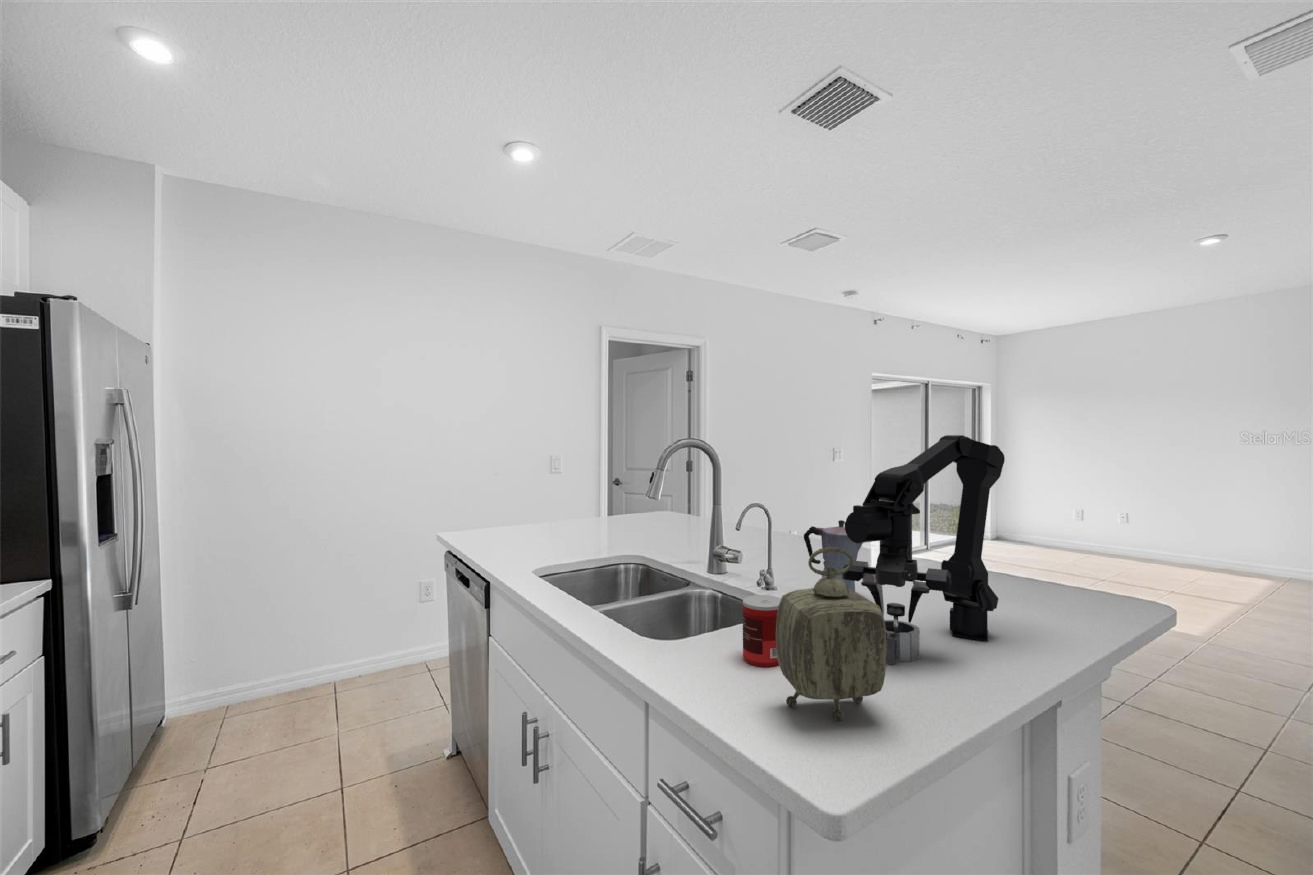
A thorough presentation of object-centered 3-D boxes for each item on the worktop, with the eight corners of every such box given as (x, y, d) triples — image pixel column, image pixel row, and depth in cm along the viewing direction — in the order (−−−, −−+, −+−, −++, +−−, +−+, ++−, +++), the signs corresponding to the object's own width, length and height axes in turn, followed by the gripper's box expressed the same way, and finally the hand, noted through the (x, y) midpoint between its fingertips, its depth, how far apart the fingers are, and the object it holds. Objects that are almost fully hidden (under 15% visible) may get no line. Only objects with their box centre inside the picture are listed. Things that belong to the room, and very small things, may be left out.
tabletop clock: (863, 697, 93) (863, 540, 92) (893, 726, 84) (893, 552, 83) (775, 702, 91) (775, 543, 91) (796, 732, 82) (796, 556, 82)
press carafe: (921, 649, 112) (921, 624, 112) (915, 669, 103) (915, 641, 103) (877, 642, 116) (876, 617, 116) (867, 661, 107) (867, 633, 107)
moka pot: (871, 607, 140) (871, 523, 139) (804, 603, 143) (804, 522, 142) (865, 595, 149) (864, 518, 149) (803, 592, 152) (802, 516, 152)
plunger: (911, 647, 112) (910, 604, 112) (907, 656, 108) (907, 610, 107) (884, 643, 114) (884, 600, 114) (880, 651, 110) (880, 607, 110)
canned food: (787, 654, 111) (786, 596, 111) (781, 670, 103) (781, 608, 103) (747, 649, 113) (746, 593, 113) (739, 664, 106) (738, 604, 106)
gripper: (835, 541, 108) (836, 624, 108) (947, 551, 99) (947, 642, 99) (848, 531, 118) (848, 608, 118) (951, 540, 109) (951, 623, 109)
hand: (895, 620), depth 111 cm, fingers open, 5 cm apart
